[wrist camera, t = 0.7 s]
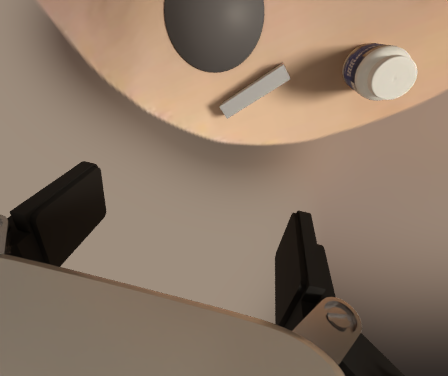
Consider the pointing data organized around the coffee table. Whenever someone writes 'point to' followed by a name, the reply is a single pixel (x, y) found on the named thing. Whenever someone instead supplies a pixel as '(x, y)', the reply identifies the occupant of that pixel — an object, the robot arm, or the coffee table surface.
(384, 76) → the pill bottle
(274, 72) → the bar
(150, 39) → the coffee table surface
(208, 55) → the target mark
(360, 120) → the coffee table surface
